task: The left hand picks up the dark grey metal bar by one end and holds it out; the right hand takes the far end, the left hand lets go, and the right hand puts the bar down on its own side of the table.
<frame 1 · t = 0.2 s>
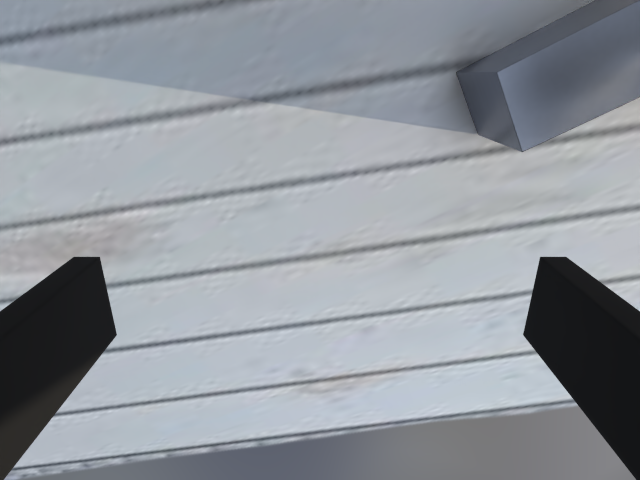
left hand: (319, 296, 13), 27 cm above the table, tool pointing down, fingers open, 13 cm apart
bar: (598, 39, 35), on the table
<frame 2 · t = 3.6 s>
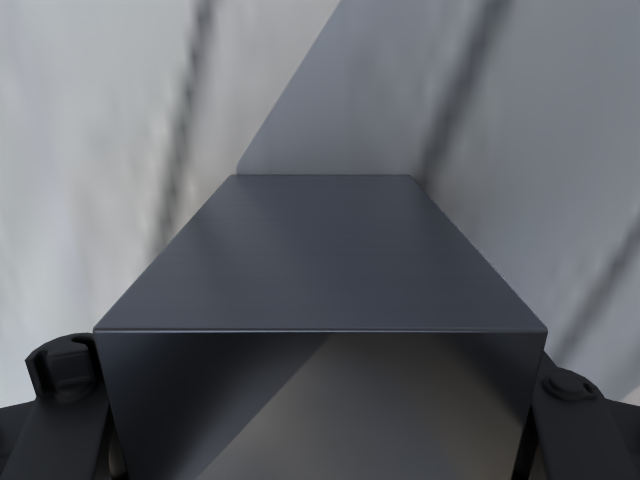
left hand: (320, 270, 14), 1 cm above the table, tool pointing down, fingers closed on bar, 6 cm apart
bar: (320, 437, 18), on the table, touching left hand
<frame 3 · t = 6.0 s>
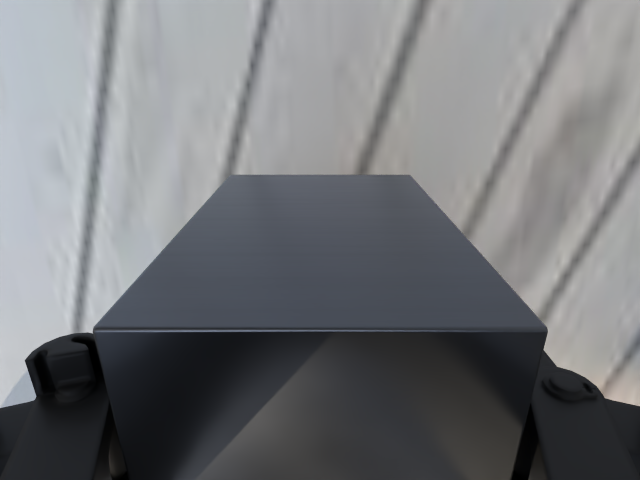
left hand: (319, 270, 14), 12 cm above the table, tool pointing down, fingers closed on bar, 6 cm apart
bar: (320, 437, 18), point 12 cm above the table, touching left hand
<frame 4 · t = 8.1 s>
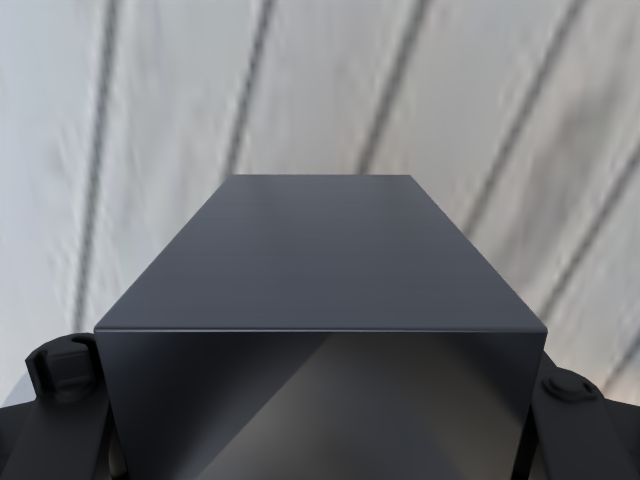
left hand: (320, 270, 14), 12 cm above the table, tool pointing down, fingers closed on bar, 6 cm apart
bar: (319, 437, 18), point 12 cm above the table, touching left hand, right hand
when the left hand's fingers open (12 cm above the table, at t = 8.8 s): bar stays where it is, held by the right hand.
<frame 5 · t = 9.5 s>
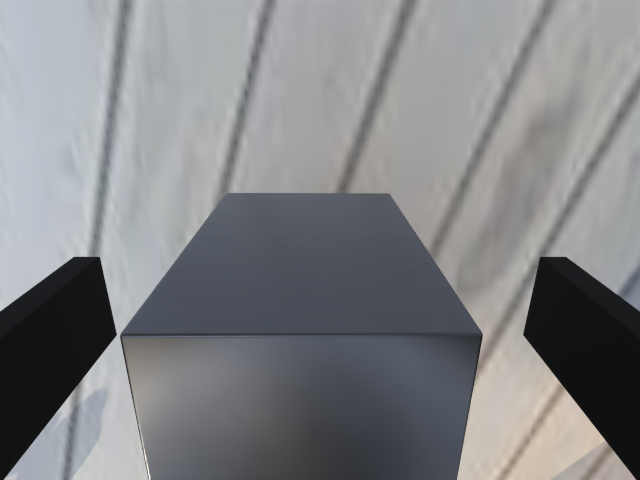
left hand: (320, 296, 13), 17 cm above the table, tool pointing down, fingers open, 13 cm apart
bar: (308, 434, 19), point 13 cm above the table, touching right hand
when the right hand's fingers open (2 cm above the table, at t = 15.1 s): bar drops 2 cm, on the table.
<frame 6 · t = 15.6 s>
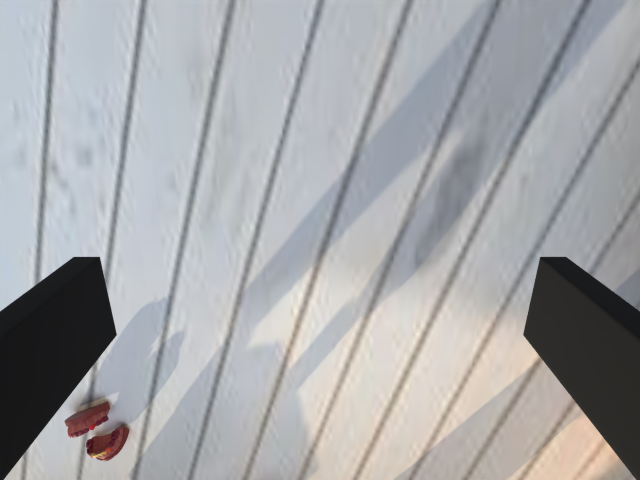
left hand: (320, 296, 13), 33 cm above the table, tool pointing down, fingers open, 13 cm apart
dental model: (102, 420, 58), on the table
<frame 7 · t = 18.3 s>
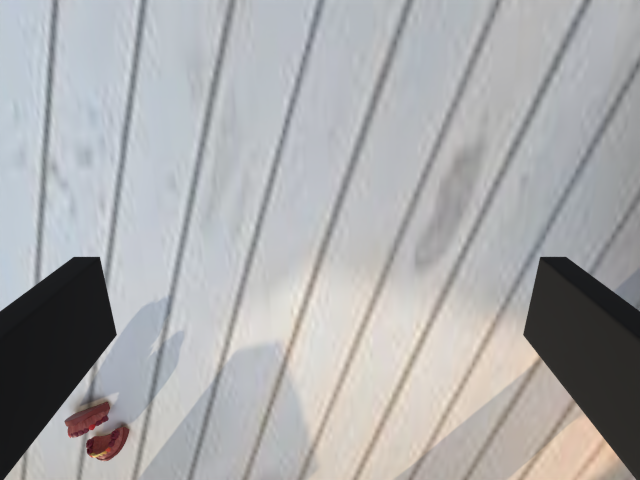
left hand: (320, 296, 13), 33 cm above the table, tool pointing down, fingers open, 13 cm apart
dental model: (102, 420, 58), on the table
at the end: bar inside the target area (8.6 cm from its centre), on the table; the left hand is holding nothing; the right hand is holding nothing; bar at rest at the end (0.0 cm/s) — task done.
